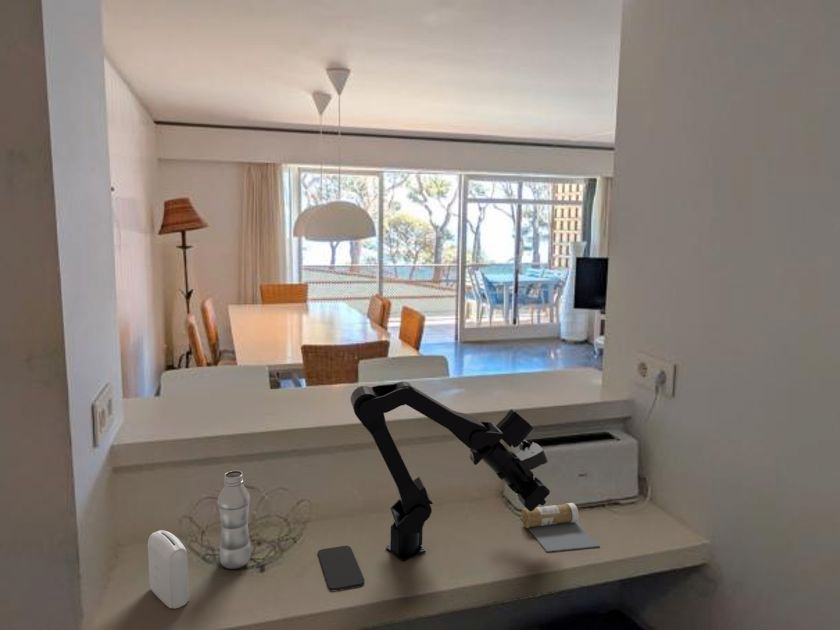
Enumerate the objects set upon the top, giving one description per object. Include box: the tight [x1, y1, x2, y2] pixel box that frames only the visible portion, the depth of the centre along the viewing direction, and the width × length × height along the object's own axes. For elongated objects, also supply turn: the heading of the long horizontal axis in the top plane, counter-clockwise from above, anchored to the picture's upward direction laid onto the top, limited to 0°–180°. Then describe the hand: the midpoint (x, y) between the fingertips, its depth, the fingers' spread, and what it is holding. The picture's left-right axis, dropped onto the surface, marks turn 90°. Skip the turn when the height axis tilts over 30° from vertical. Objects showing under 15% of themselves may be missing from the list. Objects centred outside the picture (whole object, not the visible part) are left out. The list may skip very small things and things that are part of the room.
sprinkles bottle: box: [520, 502, 580, 529], centre depth 144 cm, size 5×5×14 cm
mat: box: [519, 516, 600, 553], centre depth 141 cm, size 13×16×1 cm
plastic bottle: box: [217, 470, 252, 570], centre depth 123 cm, size 6×7×20 cm
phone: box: [317, 545, 365, 591], centre depth 124 cm, size 7×1×15 cm
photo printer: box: [147, 529, 190, 610], centre depth 113 cm, size 10×4×12 cm, turn 47°
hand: (544, 503), depth 137 cm, fingers closed
